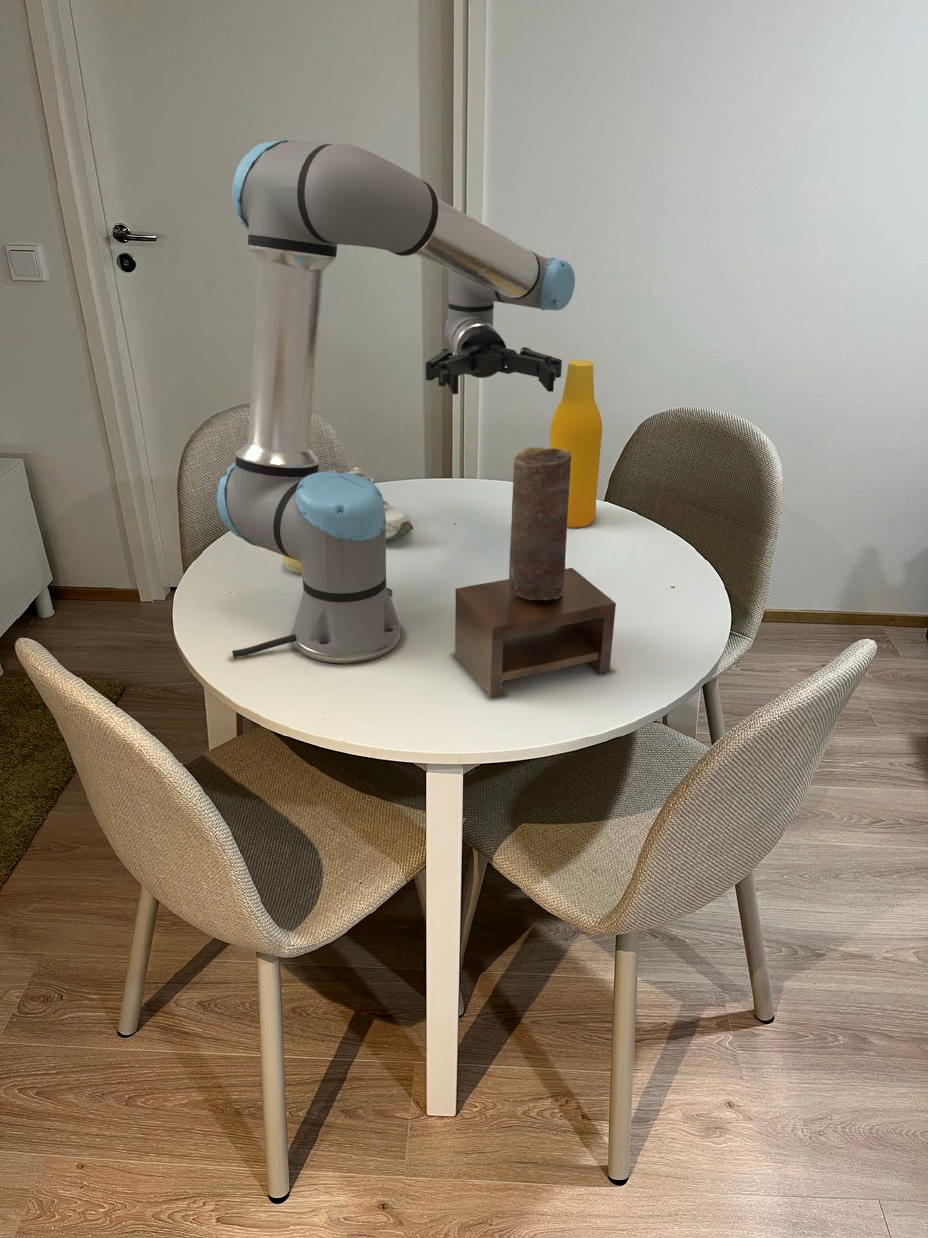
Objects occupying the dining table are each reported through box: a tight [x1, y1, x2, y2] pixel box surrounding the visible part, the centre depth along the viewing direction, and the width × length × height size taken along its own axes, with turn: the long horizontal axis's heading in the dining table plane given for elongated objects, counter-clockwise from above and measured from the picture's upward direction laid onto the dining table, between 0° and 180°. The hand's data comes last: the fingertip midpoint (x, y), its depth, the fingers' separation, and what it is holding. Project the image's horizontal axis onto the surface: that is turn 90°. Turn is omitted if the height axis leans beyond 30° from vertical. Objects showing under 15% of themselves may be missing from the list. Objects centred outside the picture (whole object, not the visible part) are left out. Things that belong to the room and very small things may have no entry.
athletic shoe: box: [332, 466, 414, 542], centre depth 176 cm, size 10×23×12 cm, turn 52°
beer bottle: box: [549, 359, 603, 529], centre depth 176 cm, size 9×9×29 cm
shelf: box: [454, 567, 617, 699], centre depth 133 cm, size 18×12×10 cm, turn 113°
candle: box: [508, 446, 571, 600], centre depth 126 cm, size 8×7×20 cm
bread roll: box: [282, 555, 302, 575], centre depth 162 cm, size 8×9×4 cm
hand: (503, 383), depth 137 cm, fingers open, 13 cm apart
